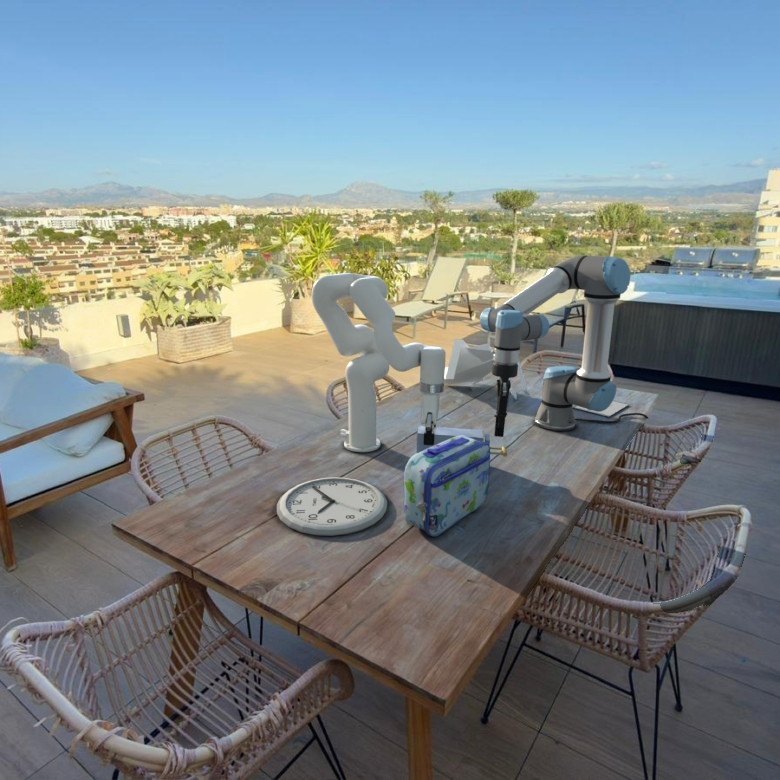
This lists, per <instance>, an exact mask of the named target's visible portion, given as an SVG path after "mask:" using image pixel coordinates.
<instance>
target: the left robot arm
mask: <svg viewBox="0 0 780 780" xmlns="http://www.w3.org/2000/svg"><path fill="white" fill-rule="evenodd" d="M388 293H389V288H388V285H387V283H386V282H385V280H383V279H382V278H381V277H379V276H375V275H367V274H361V273H360V274H359V273H354V272H353V273H352V272H345V273H344V272H343V273H334V274H327V275H323V276H321V277H319V278H318V279H316V281H315V282H314V284H313V285H312V288H311V297H310V298H311V303H312V306H313V309H314V310H315V312H316V313H317V315H318V317H319V318H320V320H321V321H322V323H323V325H324V327H325V329H326V332H327V333H328V335H329V337H330V339H331V341H332V343H333V345H334V347H335V348H336V351H337V352H338V353H339V354H340V356H343V357H352V356H354V355H358V357H355V358H353V359H352V360H351V361H349V362H348V364H347V365H346V366H345V371H344V374H345V381H346V386H347V402H348V430H347V429H344V428H341V429H340V431H339V437H341V438H345V440H344V443H343V446H344V448H345V449H346V450H348V451H351V452H355V453H370V452H374V451H376V450H379V448H380V447H381V440H380V439H379V438H377V393H376V390H375V387H374V383H375V382H376V381H379V380H381V379H383V378H385V377H386V376H387V375H388V374H389V371H390V367H391V368H392V369H393V370H395V371H397V372H399V373H400V372H401V373H403V372H407V371H410V370H413V369H414V368H418V367H420V368H419V392H420V393H421V394H422V395H421V410H420V412H421V414H420V424H421V425H424V426H425V432H424V445H434V427H437V422H438V416H439V411H440V410H439V409H440V397H441V395H442V394H444V393H445V384H444V377H445V368H446V356H447V355H446V353H447V352H446V350H445V349H444V348H443V347H440V346H430V345H426V344H423V343H421V342H410V343H408V344H405V345H402V344H401V343H400V341H399V339H398V338H397V337H396V335H395V333H394V330H393V322H394V320H395V318H396V311H395V310H394V308H393V307H392V306H391V304H389V302H388V300H387V299H386V298H387V296H388ZM347 299H351V300H352V302H353V303H354V304H355V306H356V307H357V308H358V310H359V311H360V312H361V314H362V315H363V317H365V319H366V320H367V322H368V323H369V324H370V326H371V327H372V328H371V327H369V326H368V325H366V324H355V325H354V323H353V322H352V321H351V318H350V317H349V315H348V313H347V311H346V310H345V309H344V308H343V307H342V306H341V305H340V304H339V303H338V301H341V300H347Z"/></svg>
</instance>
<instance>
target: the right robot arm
mask: <svg viewBox="0 0 780 780" xmlns="http://www.w3.org/2000/svg"><path fill="white" fill-rule="evenodd" d="M630 282H631V269H630V266H629V265H628V263H627V261H626V260H625V259H624V258H621V257H616V256H610V255H609V256H608V255H605V256H603V255H587V254H586V255H585V254H582V255H576V256H572V257H570V258H567V259H565V260H563V261H561V262H559V263H557V264H555V265H554V266H552V267H550V268H549V269H548V270H547V271H546V273H545V274H544V276H542V277H541V278H540V279H538V280H536V281H535V282H533V283H532V284H531V285H529V286H527V287H526V288H525V289H523V290H522V291H520V292H519V293H517V294H516V295H514V296H512V297H511V298H510V299H508V300H507V301H505V302H503V304H501V305H500V306H498V307H496V308H495V307H487V308H485V309H483V310H482V312H481V314H480V316H479V325H480V327H481V329H483V330H484V331H488V332H491V333H494V346H493V347H494V348H493V350H495V351H492V354H494V356H493V360H494V361H495V362H493V366H492V372H491V374H492V375H493V376H495V377H497V378H498V377H499V379H496V395H497V397H496V407H495V410H496V411H495V414H494V415H493V417H494V418H495V423H494V433H493V434H494V437H496V438H497V437H499V438H504V436H505V435H504V434H505V425H506V418H507V415H508V412H507V410H508V401H509V396H510V390H509V389H510V388H511V383H510V380H509V378H512V379H514V378H516V377H518V364H517V363H518V362H520V354H521V342H525V341H533V340H538V339H542V338H543V337H546V336H547V334H548V333H549V332H550V320H549V319H548V318H547V316H546V315H544V314H541V313H533V314H531V313H532V312H533V311H535V310H536V309H538V308H539V307H541V306H542V305H543V304H545V303H546V302H548V301H549V300H551V299H552V298H554V297H555V296H557V295H558V294H564V293H566V292H567V291H570V290H580V291H581V290H582V291H583V298H584V299H585V301H587V308H586V316H585V317H586V318H585V328H584V336H583V337H584V338H583V348H582V358H581V367H580V368H579V369H578V368H577V367H576V366H571V365H570V366H569V365H557V366H556V365H555V366H550V367H547V368H546V369H545V371H544V375H543V378H542V379H543V381H542V382H543V383H542V394H541V402H540V405H539V407H538V410H537V411H536V413H535V415H534V424H535V425H536V426H537V427H539V428H542V429H544V430H549V431H556V432H567V431H572V430H574V429H575V428H576V421H577V422H589V423H590V422H591V423H598V424H599V423H600V424H615V423H618V422H620V421H621V419H622V418H624V417H628V416H641V417H644V418H645V419H648V420H649V416H648V415H646V414H645V413H641V412H630V413H622V414H620V415H619V416H618V418H617V419H615V420H599V419H589V418H577V417H576V416H575V413H574V407H573V406H580V407H583V408H586V409H588V410H593V411H597V412H601V411H604V410H605V409H607V408H608V407H609V406H610V404H611V403H612V401H614V400H615V398H616V394H617V384H616V383H615V382H614V381H611V379H612V378H611V377H612V374H611V372H610V371H609V370H608V366H609V356H610V347H611V340H612V339H611V338H612V330H613V321H614V312H615V304H616V303H617V301H619V300H620V299H621V295H622V294H624V293H625V292H627V290H628V288H629V286H630V284H631V283H630ZM575 417H576V418H575Z"/></svg>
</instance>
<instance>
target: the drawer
mask: <svg viewBox="0 0 780 780" xmlns="http://www.w3.org/2000/svg"><path fill="white" fill-rule="evenodd" d="M484 442H487V443H488V444H489V446H490V445H491V444H490V443H491V438H490V434H489V433H485V436H484ZM490 450H498V451H499V452H497V451H490V455H498V456H503V457H504V458H505V457H507V456H508V452H507V451H508V450H507V446H505V445H504V446H501V447H500V446H499V447H498V446H490Z"/></svg>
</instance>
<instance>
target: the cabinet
mask: <svg viewBox="0 0 780 780" xmlns="http://www.w3.org/2000/svg"><path fill="white" fill-rule="evenodd" d="M424 432H425V425H418V429H417V433H416V454H417V453H419V452H421V451H424V450H426V449H428V448H430V447H432V446H434V445H437V444H439V443H441V442H444V441H446V440H448V439H451V438H453V437H456V436H459V435H464V436H467V437H469V438H472V439H474V440H477V441H480V442H482V441H485V436H484V430H483V429H472V428H471V429H470V428H458V427H457V428H455V427H444V426H443V427H441V426H436V427H434V445H424Z"/></svg>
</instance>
